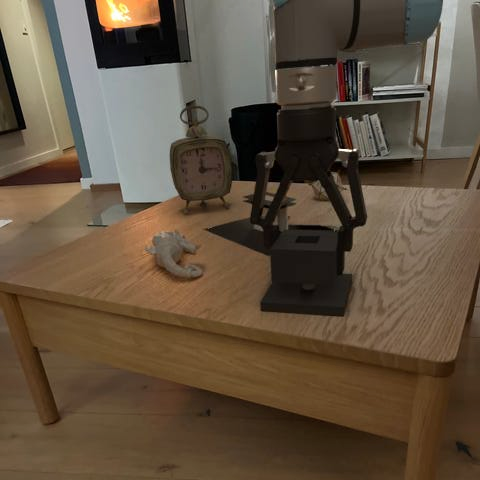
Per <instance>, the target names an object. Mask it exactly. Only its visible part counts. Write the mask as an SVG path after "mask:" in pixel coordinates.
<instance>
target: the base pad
mask: <svg viewBox="0 0 480 480" xmlns="http://www.w3.org/2000/svg"><path fill="white" fill-rule="evenodd" d="M352 285H353V273H343V275H337V278H336V281H335V284H334V285H323V284H304V283H285V282H272V281H271V283H270V285H269V287H268V288H267V290H266V292H265V293H264V294H263V297H262V298H261V300H260V302H259V303H260V312H271V313H285V314H286V313H287V314H299V315H300V314H301V315H315V316H331V317H332V316H333V317H345V313H346V309H347V305H348V302H349V297H350V293H351V289H352Z"/></svg>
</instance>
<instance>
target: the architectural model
mask: <svg viewBox="0 0 480 480" xmlns="http://www.w3.org/2000/svg"><path fill="white" fill-rule="evenodd" d="M275 194H276V193H273V192H269V191H266V196H265V202H264V208H263V214H262V215H264V216H266V214H267V212H268V209H269V207H270V205H271V203H272V201H273V198H274V196H275ZM253 196H254V193H253V194H248V195H244V196H242V198H243V199H244V200H242V202H243V203H245V204H250V205H252V203H253ZM296 200H297V198H294V197H290V196H286V197H285V199H284V201H283V203H282V205H281V207H280V210H279V212H278V214H277V216H276V218H275V220H274V223H273V225H279V236H280V235H281V233H282V232H283V230H330V231H334V228H331V227H328V226H325V225H321V224H289V220H290V219H291V216H290V215H289V213H288V212H289V211H288V210H289V209H288V208H289V207H290V208H291V207H293V206H295V205H297V203H296V202H294V201H296ZM211 227H212V228H210V227H207V228H205V229H207V230H206V231H207V232H210V233H212V234H215V235H217V236H219V237H222V238H224V239H227V240H229V241H231V242H234V243H235V244H238V245H241V246H243V247H246V248H248V249H251V250H253V251H256V252H258V253H261V254H262V255H265V256H268V257H270V249H265V247H264V238H263V229H262V227H261V226H259V225H256V224H255V225H252V224H251V223H250V216H249V217H245V218H240V219H238V220H233V221H230V222H226V223H222V224H218V225H215V226H211ZM208 228H209V229H208ZM338 230H339V229H335V231H338Z"/></svg>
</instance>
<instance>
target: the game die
mask: <svg viewBox="0 0 480 480" xmlns="http://www.w3.org/2000/svg"><path fill="white" fill-rule="evenodd" d="M340 172H341V169H338V170H337V171H331V173H332V175H333V177H334V181H335V183H336V185H337V187H338V189H339V191H340V193H341V194H342V192H343V191H347V190H348V187H344V185H343V181H342V179H341V176H340ZM307 185H308V186H311V188H312V191H313V192H314V195H315V198H316V200H322V201H330V200H329V198H328V196H327V194H326V192H325V190H324V188H323V187H322V186H321V184H320V182H319V180H318V181H317V182H312V183H310V182H309V183H307Z"/></svg>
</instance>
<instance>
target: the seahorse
mask: <svg viewBox="0 0 480 480" xmlns="http://www.w3.org/2000/svg"><path fill="white" fill-rule="evenodd" d="M151 243H152V245H153V246H151V245H146V246H144V250H145V251H146V253H148V254H149V255H154V258H155V260H156V262H157V265H158V266H159V267H161V268H164V269H165V270H166V271H167V272H170V273H171V274H172V275H175V276H178V277H179V278H181V277H183V278H186V279H190V278H198V277H201V276H203V274H204V273H203V269H201V267H200V266H196V264H191V263H190V262H188V263H187V264H184V266H183V267H181V265H179V264H178V263H179V262H180V261H181V259H182V257H183V254H184V251H185V252H187V253H190V254H193V255H194V254H195V253H196V252H197V246H196V245H195V244H193V243H192V242H190V240H188V238H186V236H184V235H182V234H181V233H180V231H179V230H178V229H176V228H175V229H174V232H173V231H160V232H158V233H156V234H154V235H153V236H152V238H151Z"/></svg>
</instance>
